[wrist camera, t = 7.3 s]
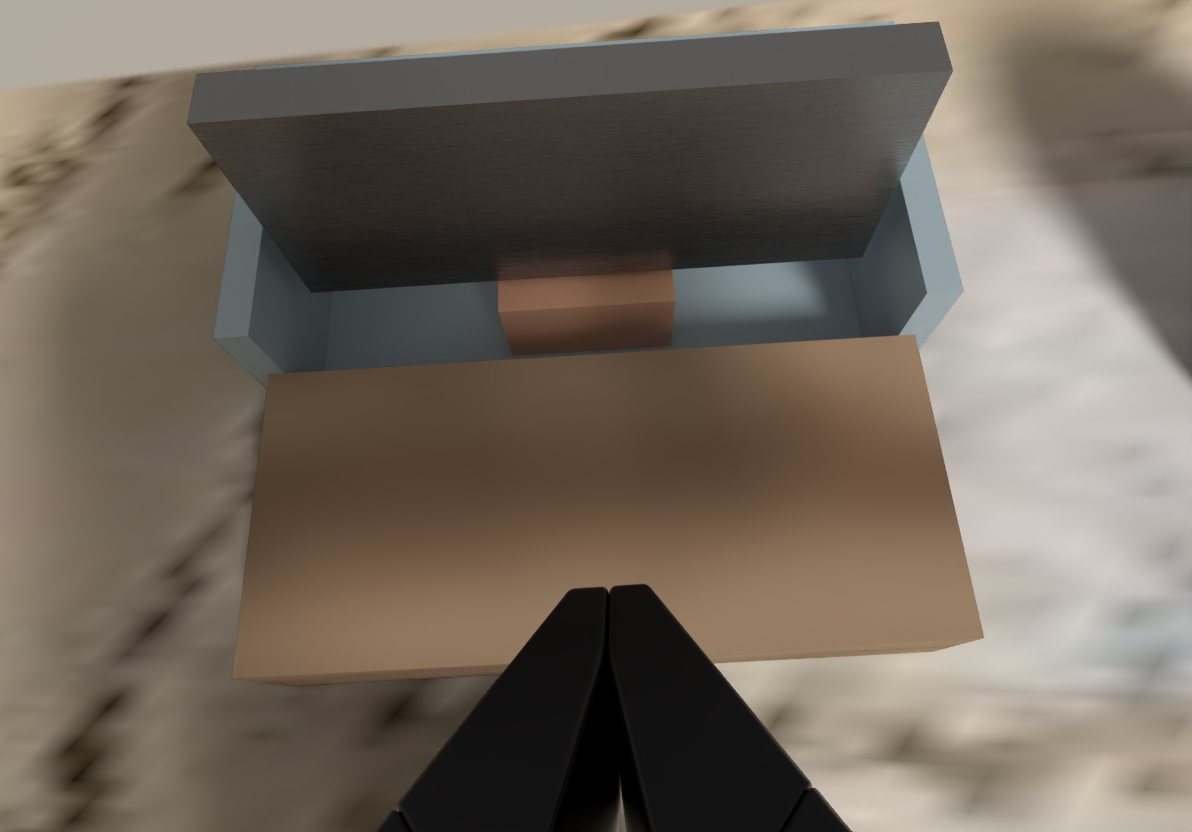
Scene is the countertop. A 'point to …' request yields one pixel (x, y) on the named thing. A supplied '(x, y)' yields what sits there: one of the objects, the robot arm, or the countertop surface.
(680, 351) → the raised board
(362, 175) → the grey flat plank
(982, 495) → the countertop surface
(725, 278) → the box
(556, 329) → the tile
